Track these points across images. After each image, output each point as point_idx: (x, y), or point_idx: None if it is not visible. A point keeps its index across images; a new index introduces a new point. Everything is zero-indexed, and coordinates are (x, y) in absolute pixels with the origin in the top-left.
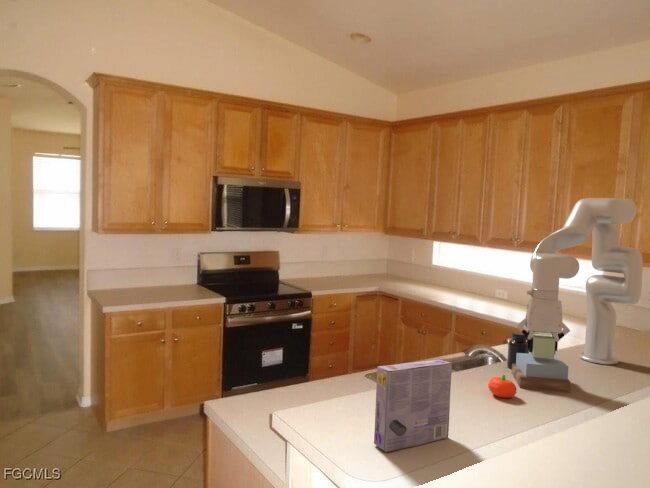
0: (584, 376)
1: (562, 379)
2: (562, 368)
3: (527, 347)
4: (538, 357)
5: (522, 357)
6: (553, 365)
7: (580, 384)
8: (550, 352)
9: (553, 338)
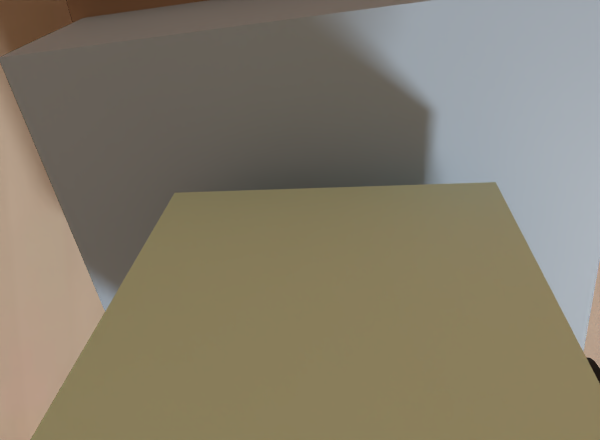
0: (17, 368)
1: (136, 4)
2: (91, 40)
3: (595, 370)
4: (410, 187)
5: (571, 289)
6: (205, 32)
7: (29, 204)
8: (211, 245)
9: None
